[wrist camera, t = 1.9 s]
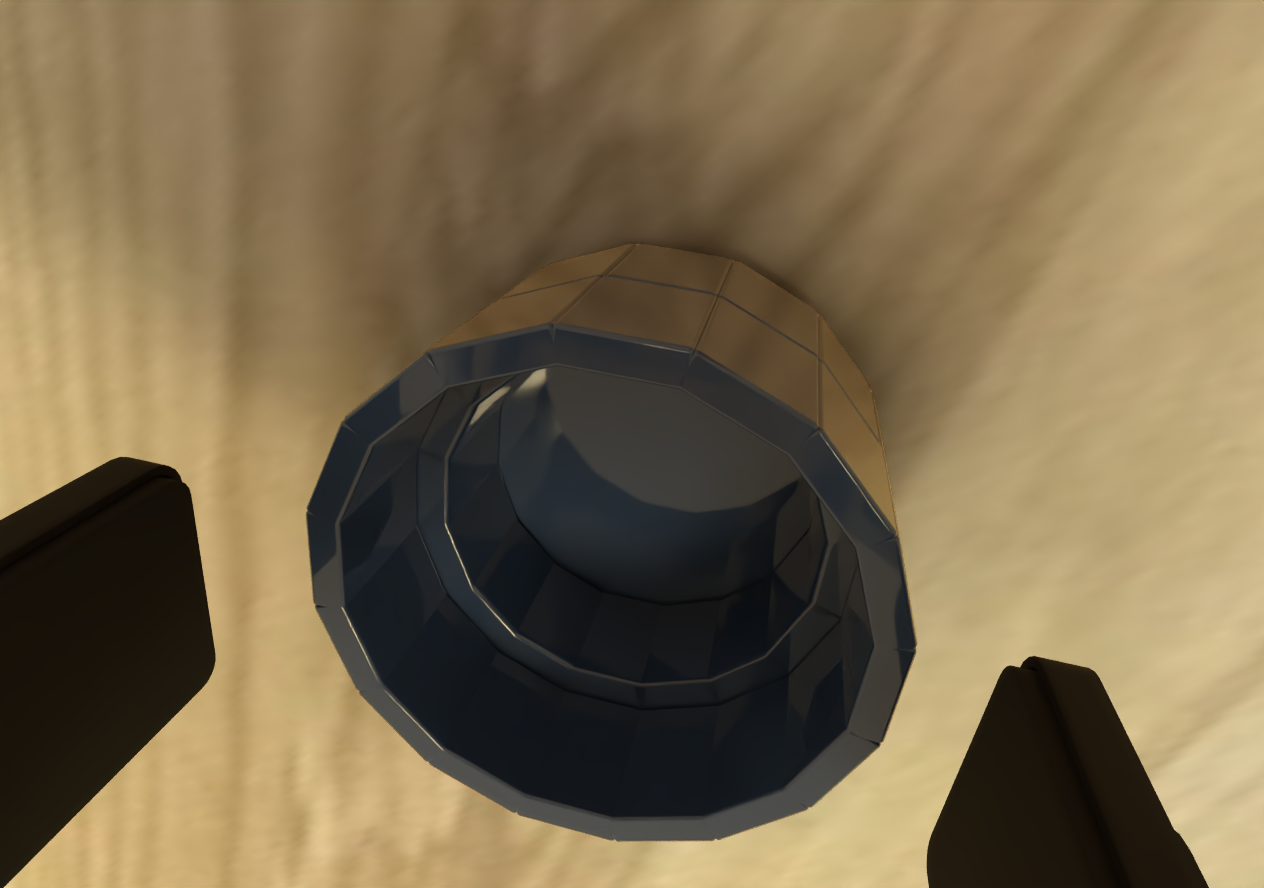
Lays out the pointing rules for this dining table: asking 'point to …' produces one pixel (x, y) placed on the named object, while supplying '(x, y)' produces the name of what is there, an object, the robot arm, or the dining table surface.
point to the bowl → (623, 551)
